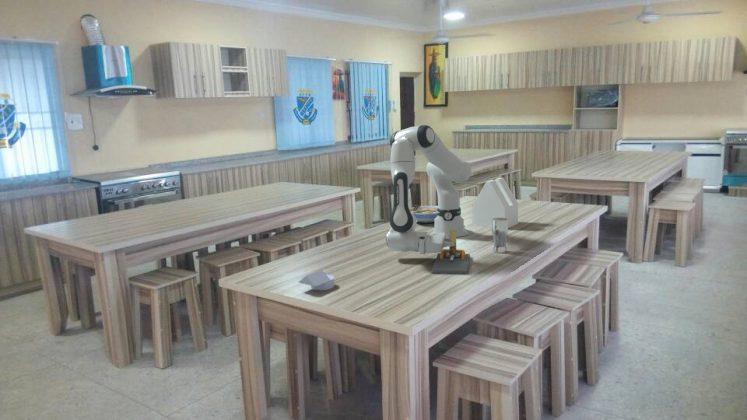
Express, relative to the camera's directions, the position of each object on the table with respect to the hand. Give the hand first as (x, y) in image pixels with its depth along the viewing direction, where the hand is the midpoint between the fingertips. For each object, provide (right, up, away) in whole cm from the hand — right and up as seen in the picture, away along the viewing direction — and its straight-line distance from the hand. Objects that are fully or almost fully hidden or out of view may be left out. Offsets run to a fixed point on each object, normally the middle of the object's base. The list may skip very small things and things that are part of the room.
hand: (455, 242), depth 236 cm
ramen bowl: (-4, +7, +77) cm, 78 cm away
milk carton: (+31, +6, +63) cm, 71 cm away
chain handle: (-1, -7, -2) cm, 7 cm away
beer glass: (+22, -5, +11) cm, 25 cm away
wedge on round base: (-56, -16, -27) cm, 64 cm away
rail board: (-2, -9, -6) cm, 11 cm away
